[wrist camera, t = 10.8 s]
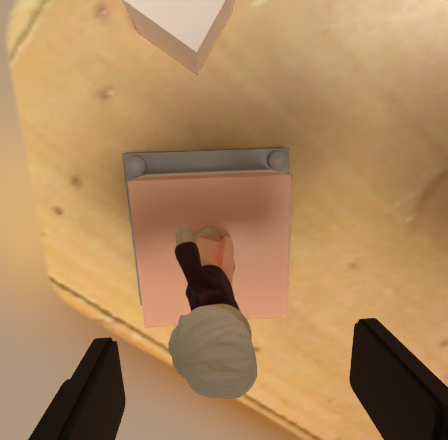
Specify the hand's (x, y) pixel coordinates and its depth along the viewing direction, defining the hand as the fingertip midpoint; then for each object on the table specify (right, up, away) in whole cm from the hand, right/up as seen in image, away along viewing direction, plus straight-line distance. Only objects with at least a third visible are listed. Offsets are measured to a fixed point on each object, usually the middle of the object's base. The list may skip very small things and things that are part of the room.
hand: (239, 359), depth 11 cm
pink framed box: (-2, +5, +19) cm, 19 cm away
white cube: (-4, +23, +14) cm, 27 cm away
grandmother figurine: (-2, +3, +11) cm, 11 cm away
